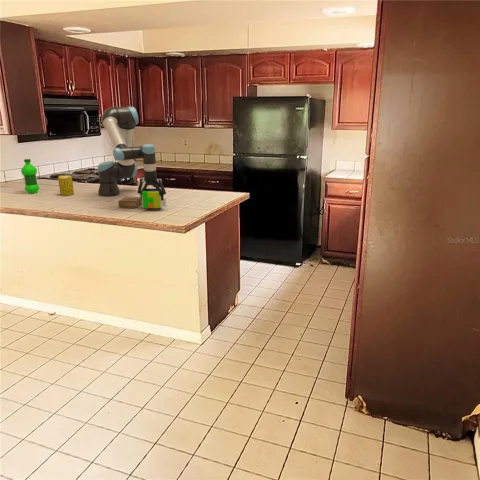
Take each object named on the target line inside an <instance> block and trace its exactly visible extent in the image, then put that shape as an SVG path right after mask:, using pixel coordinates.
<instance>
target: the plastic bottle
mask: <svg viewBox="0 0 480 480" xmlns="http://www.w3.org/2000/svg"><path fill="white" fill-rule="evenodd" d="M23 162H24V163H25V164H24V166H22V167H21V169H20V172H21V174H22V175H23V178H24V183H25V186H24V190H25V191H26V192H27V193H28V194H32V195H33V194H37V193H38V192H39V190H40V186H39V184H38V182H37V176H36V175H37V173H38V169H37V167H36V166H34V165H33V164H32V163H31V162H32V161H31V158H25V159H23Z"/></svg>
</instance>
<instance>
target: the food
mask: <svg viewBox="0 0 480 480" xmlns="http://www.w3.org/2000/svg"><path fill="white" fill-rule="evenodd" d="M57 180H58V186H59V187H58V188H59V192H60V195H61V196H72V195H74V194H75V192H74V190H75V189H74V181H73V176H71V175H68V174H66V175H59V176H58V177H57Z"/></svg>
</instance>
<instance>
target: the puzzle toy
mask: <svg viewBox="0 0 480 480" xmlns="http://www.w3.org/2000/svg"><path fill="white" fill-rule="evenodd" d="M159 196H160V194H159V191H157V189H156V188H153V189H145V190H144V191H143V192H142V198H143V205H142V208H143V209H160V207H161V206H160V199H159Z"/></svg>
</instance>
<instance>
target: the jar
mask: <svg viewBox="0 0 480 480" xmlns="http://www.w3.org/2000/svg"><path fill="white" fill-rule="evenodd" d="M140 178H141V177H139V178H137V180H136V181H137V188H138V187H139V184H140ZM142 178H145V177H142ZM145 183H146V182H145V181H144V182H143V185H142V189H143V187H144V185H145ZM142 189H141V191H142ZM146 189H154V186H151V185H148V186H147V188H146ZM138 195H139V197H141V196H140V194H139V193H138Z"/></svg>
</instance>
